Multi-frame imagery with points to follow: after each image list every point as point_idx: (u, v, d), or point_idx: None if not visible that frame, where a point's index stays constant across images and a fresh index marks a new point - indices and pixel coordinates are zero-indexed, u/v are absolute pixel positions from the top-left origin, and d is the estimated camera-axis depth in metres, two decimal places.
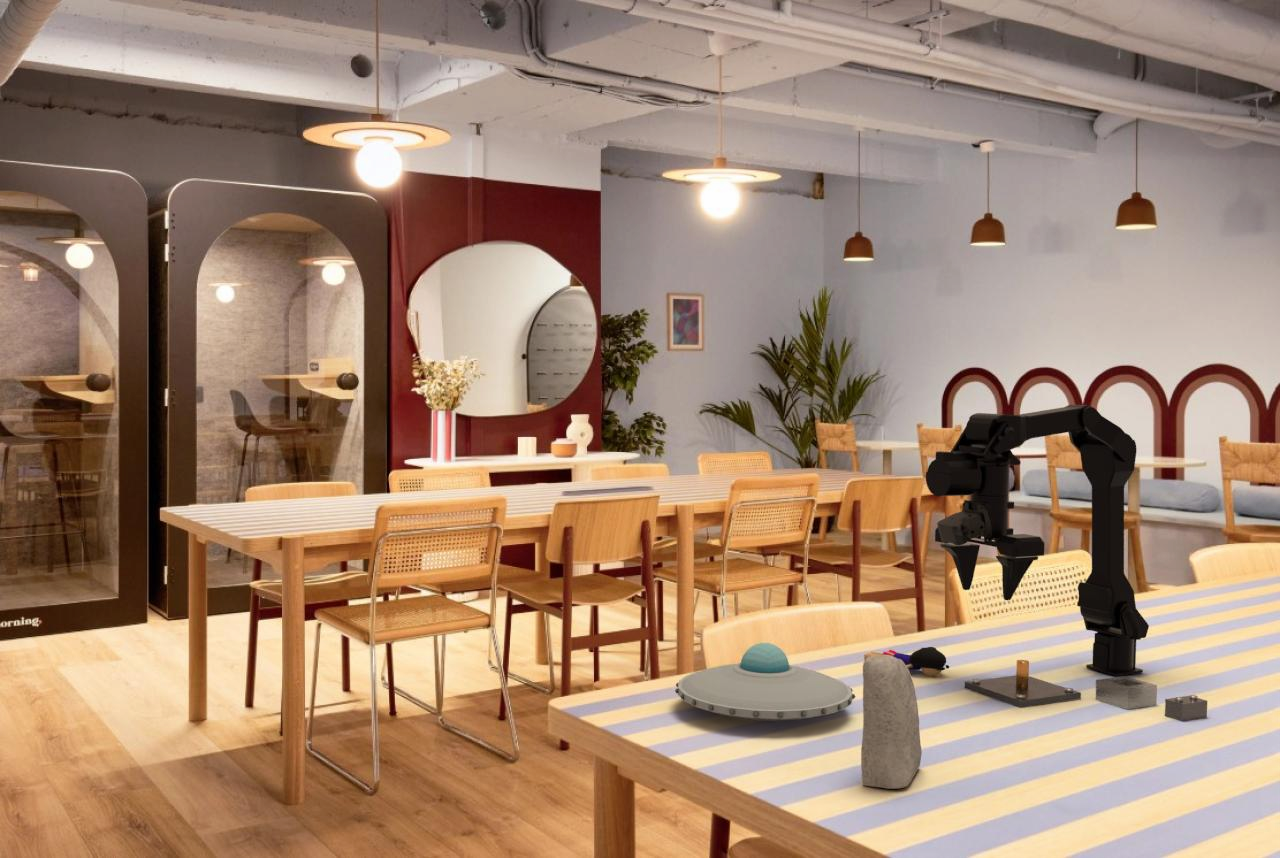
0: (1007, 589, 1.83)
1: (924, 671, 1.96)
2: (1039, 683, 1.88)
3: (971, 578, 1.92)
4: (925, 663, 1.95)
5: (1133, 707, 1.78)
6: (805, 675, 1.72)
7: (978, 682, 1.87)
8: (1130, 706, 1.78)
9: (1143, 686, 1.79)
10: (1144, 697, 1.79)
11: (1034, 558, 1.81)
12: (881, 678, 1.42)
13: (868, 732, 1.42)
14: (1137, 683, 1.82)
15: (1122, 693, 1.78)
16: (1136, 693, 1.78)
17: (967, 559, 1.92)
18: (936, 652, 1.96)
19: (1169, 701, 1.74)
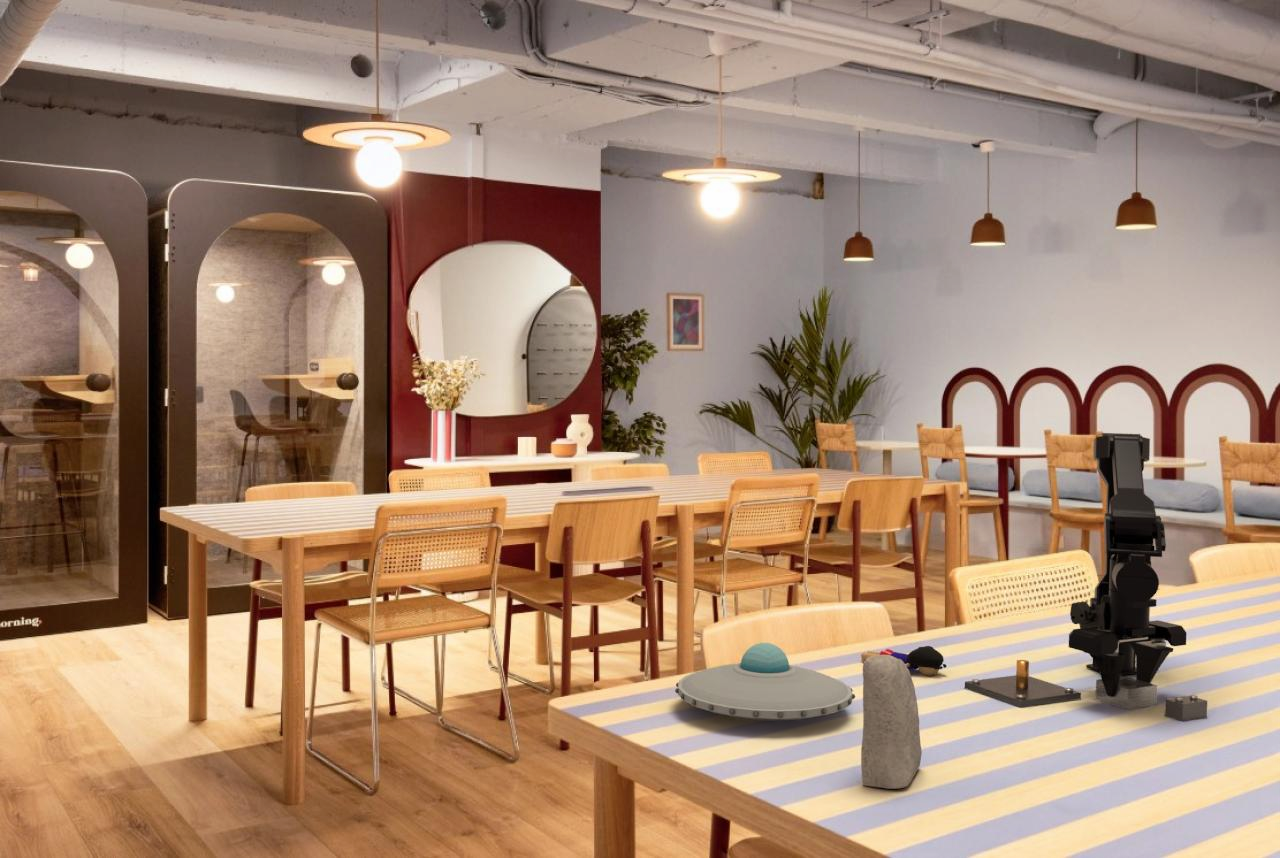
0: (1104, 684, 1.80)
1: (921, 670, 1.96)
2: (1039, 683, 1.88)
3: (1145, 681, 1.82)
4: (923, 662, 1.95)
5: (1133, 707, 1.78)
6: (805, 675, 1.72)
7: (978, 682, 1.87)
8: (1130, 706, 1.78)
9: (1143, 686, 1.79)
10: (1144, 697, 1.79)
11: (1104, 655, 1.77)
12: (881, 678, 1.42)
13: (868, 732, 1.42)
14: (1137, 683, 1.82)
15: (1122, 693, 1.78)
16: (1136, 693, 1.78)
17: (1144, 660, 1.83)
18: (933, 651, 1.96)
19: (1169, 701, 1.74)
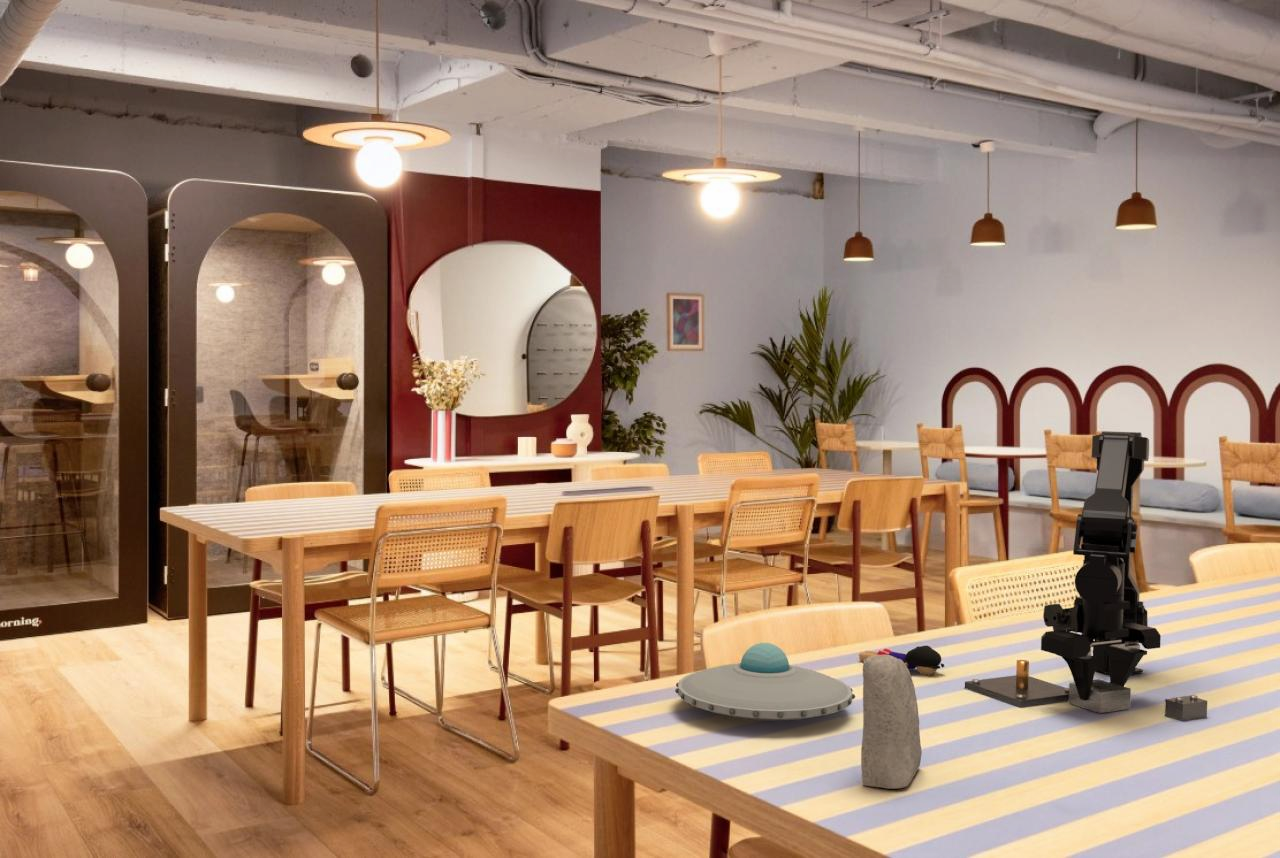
0: (1077, 687, 1.78)
1: (919, 670, 1.97)
2: (1039, 683, 1.88)
3: (1119, 684, 1.80)
4: (920, 662, 1.95)
5: (1106, 711, 1.76)
6: (805, 675, 1.72)
7: (978, 682, 1.87)
8: (1103, 710, 1.75)
9: (1116, 689, 1.77)
10: (1118, 701, 1.77)
11: (1077, 658, 1.74)
12: (881, 678, 1.42)
13: (868, 732, 1.42)
14: (1111, 686, 1.79)
15: (1095, 696, 1.76)
16: (1109, 696, 1.76)
17: (1118, 663, 1.80)
18: (931, 651, 1.97)
19: (1169, 701, 1.74)
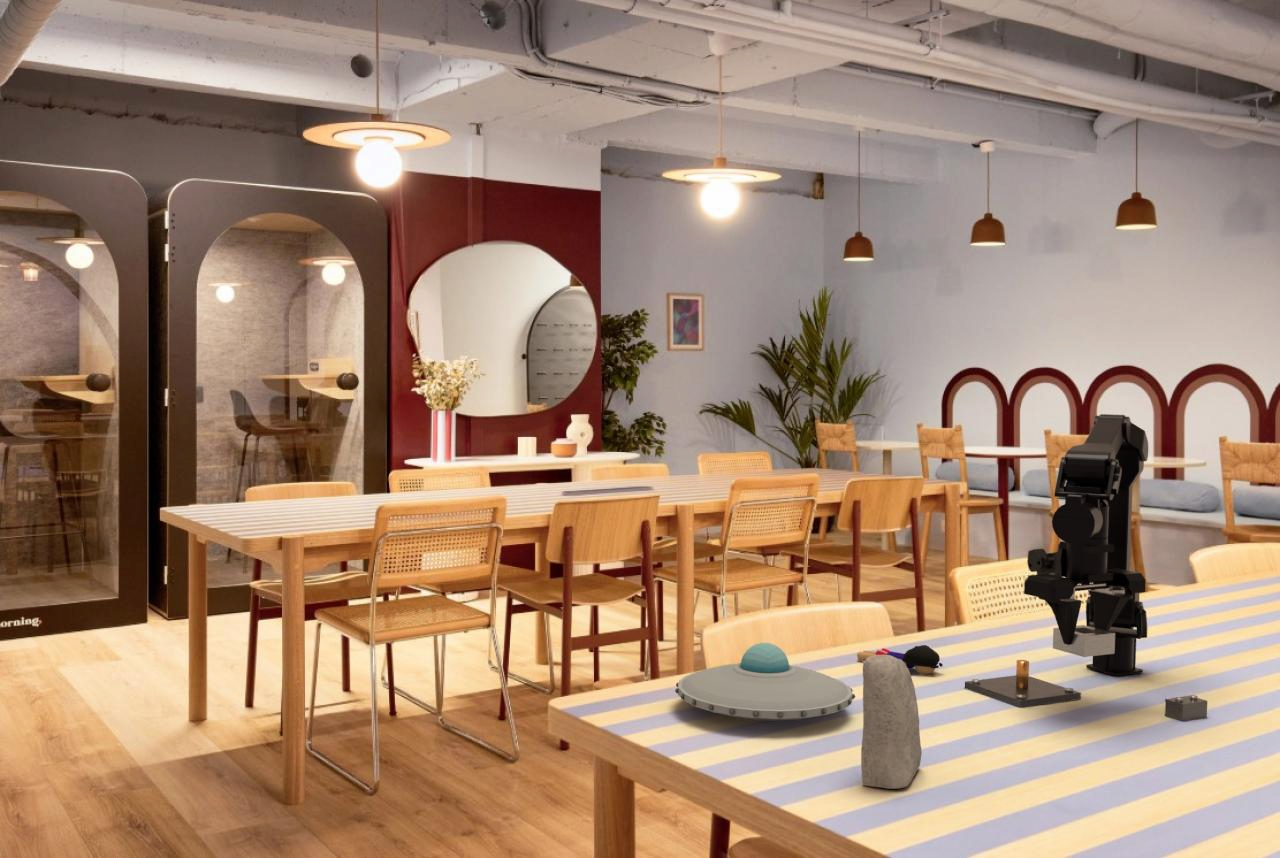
0: (1060, 631, 1.76)
1: (918, 669, 1.97)
2: (1039, 683, 1.88)
3: (1103, 629, 1.78)
4: (919, 661, 1.96)
5: (1090, 655, 1.74)
6: (805, 675, 1.72)
7: (978, 682, 1.87)
8: (1087, 654, 1.74)
9: (1100, 633, 1.75)
10: (1102, 645, 1.75)
11: (1060, 601, 1.72)
12: (881, 678, 1.42)
13: (868, 732, 1.42)
14: (1095, 631, 1.77)
15: (1079, 640, 1.74)
16: (1093, 640, 1.74)
17: (1103, 608, 1.78)
18: (929, 650, 1.97)
19: (1169, 701, 1.74)
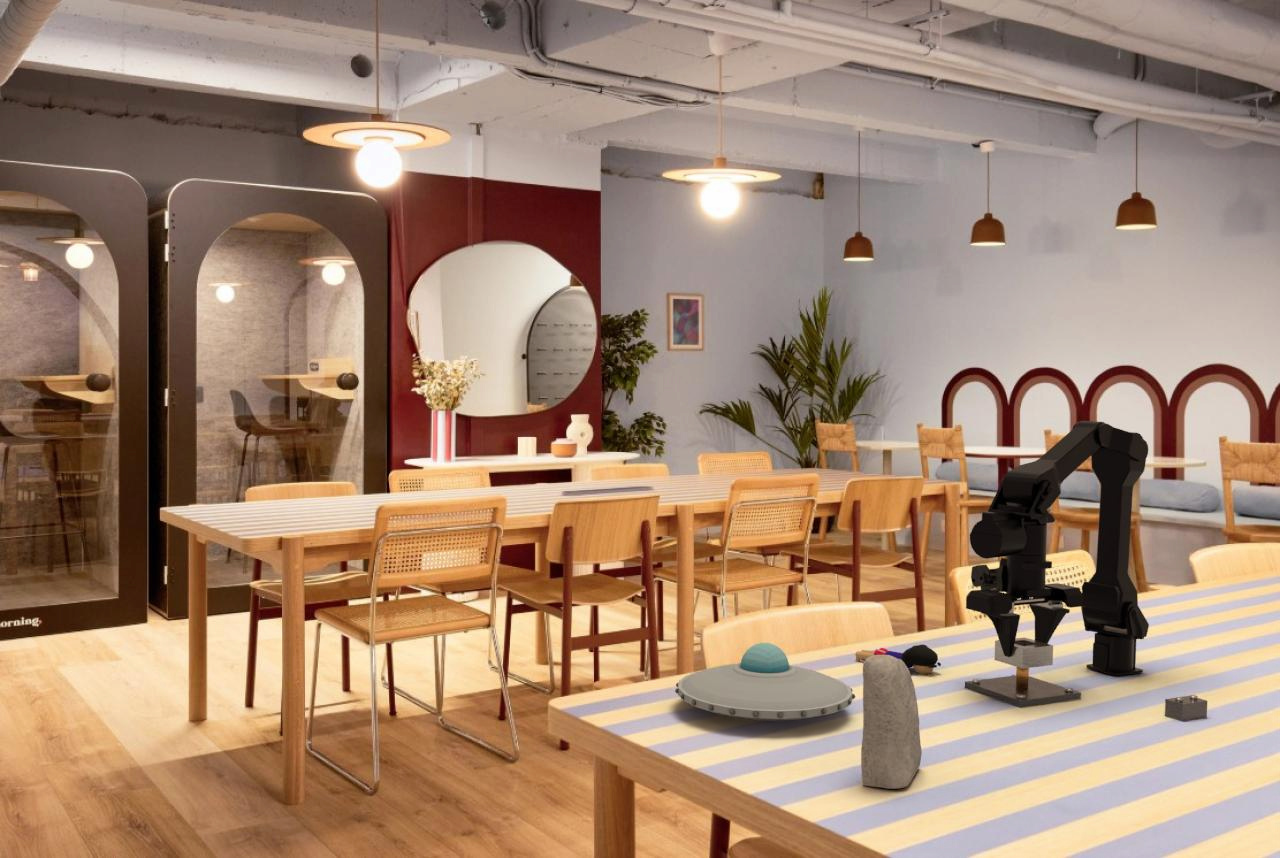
0: (1001, 644, 1.84)
1: (916, 669, 1.97)
2: (1039, 683, 1.88)
3: None
4: (917, 661, 1.96)
5: (1028, 666, 1.82)
6: (805, 675, 1.72)
7: (978, 682, 1.87)
8: (1025, 665, 1.82)
9: (1039, 646, 1.83)
10: (1040, 657, 1.83)
11: (999, 616, 1.81)
12: (881, 678, 1.42)
13: (868, 732, 1.42)
14: (1034, 644, 1.86)
15: (1018, 653, 1.82)
16: (1031, 653, 1.82)
17: (1042, 622, 1.87)
18: (927, 650, 1.97)
19: (1169, 701, 1.74)
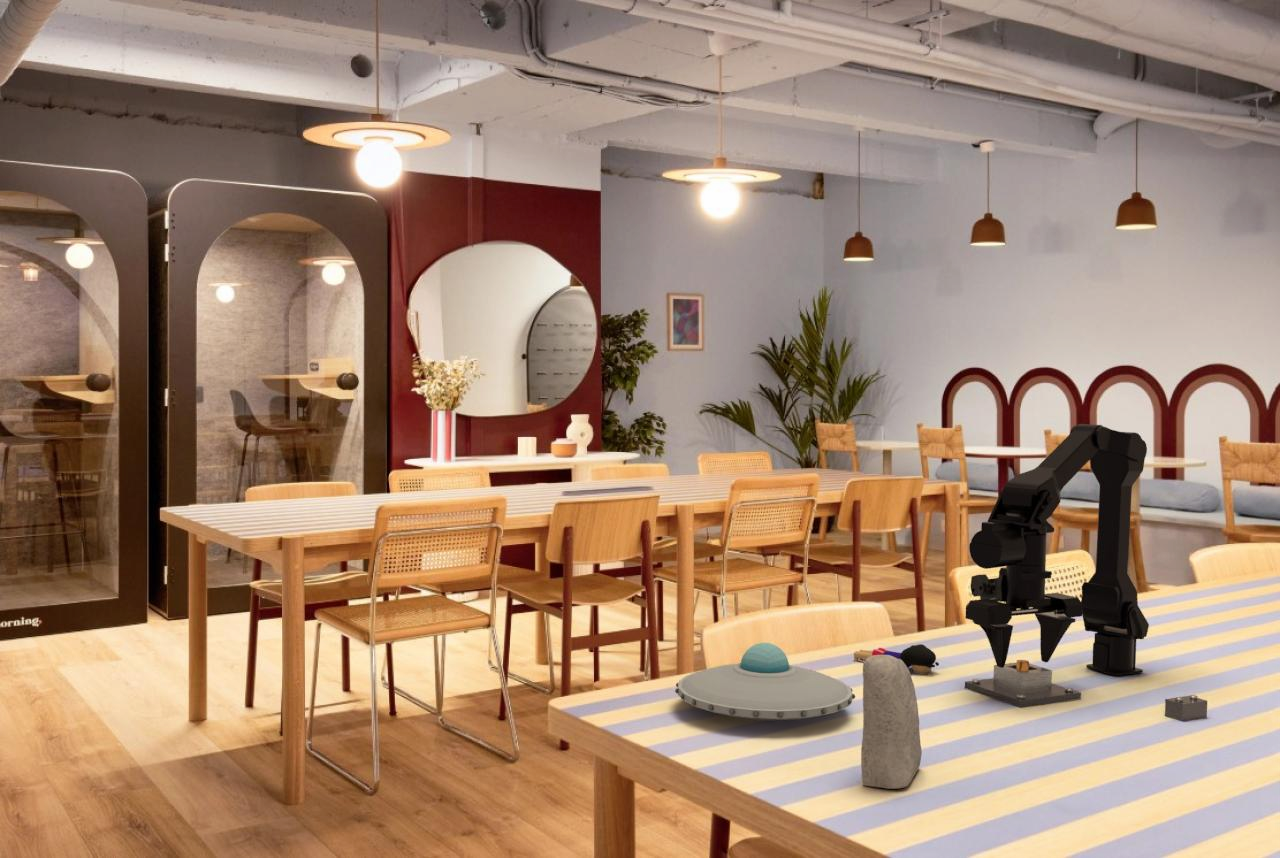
0: (994, 655, 1.84)
1: (914, 668, 1.97)
2: None
3: (1048, 651, 1.87)
4: (915, 660, 1.96)
5: (1027, 691, 1.82)
6: (805, 675, 1.72)
7: (978, 682, 1.87)
8: (1024, 690, 1.82)
9: (1038, 671, 1.83)
10: (1039, 682, 1.83)
11: (992, 626, 1.80)
12: (881, 678, 1.42)
13: (868, 732, 1.42)
14: (1033, 668, 1.86)
15: (1017, 678, 1.83)
16: (1030, 678, 1.82)
17: (1048, 631, 1.87)
18: (926, 650, 1.97)
19: (1169, 701, 1.74)
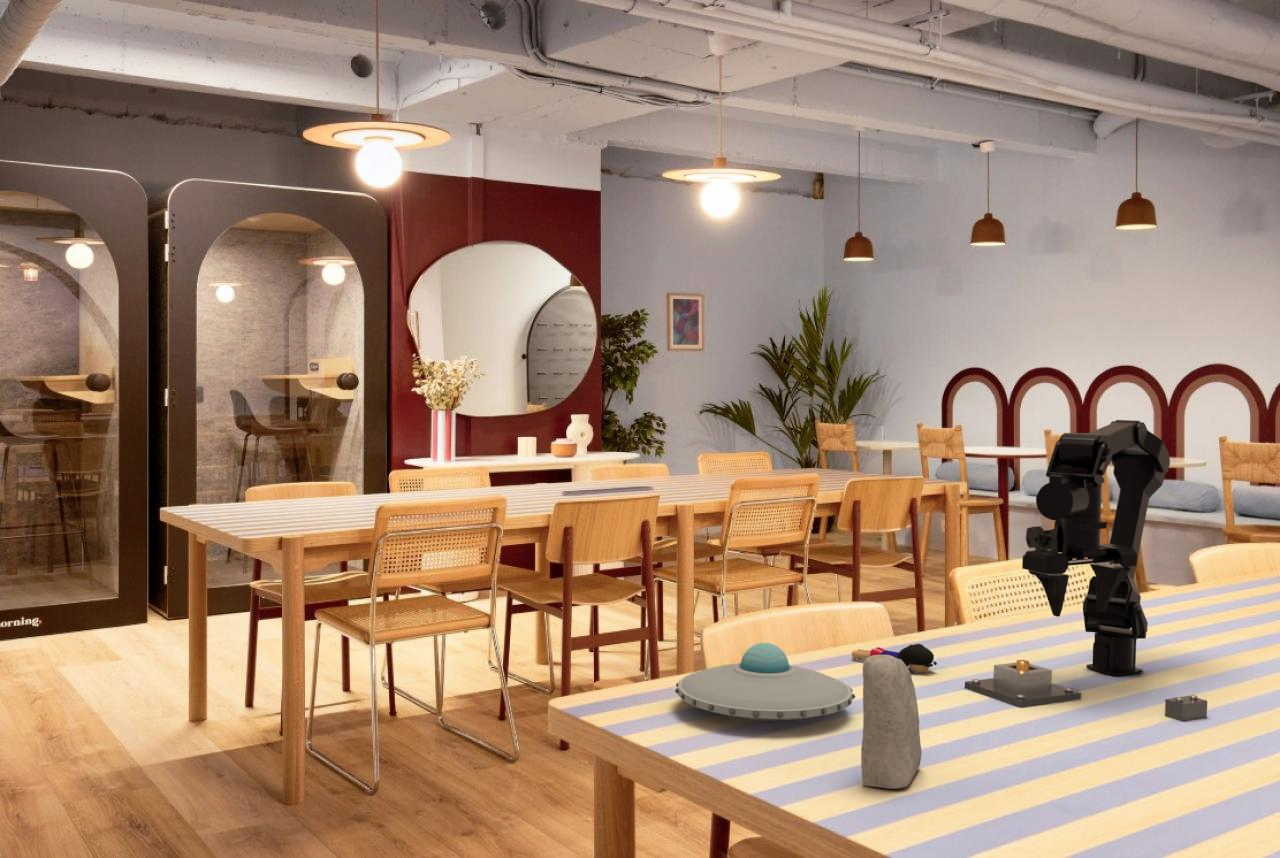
0: (1050, 604, 1.87)
1: (912, 668, 1.98)
2: None
3: (1104, 600, 1.90)
4: (913, 660, 1.96)
5: (1027, 691, 1.82)
6: (805, 675, 1.72)
7: (978, 682, 1.87)
8: (1024, 690, 1.82)
9: (1038, 671, 1.83)
10: (1039, 682, 1.83)
11: (1049, 576, 1.84)
12: (881, 678, 1.42)
13: (868, 732, 1.42)
14: (1033, 668, 1.86)
15: (1017, 678, 1.83)
16: (1030, 678, 1.82)
17: (1103, 581, 1.91)
18: (923, 649, 1.98)
19: (1169, 701, 1.74)
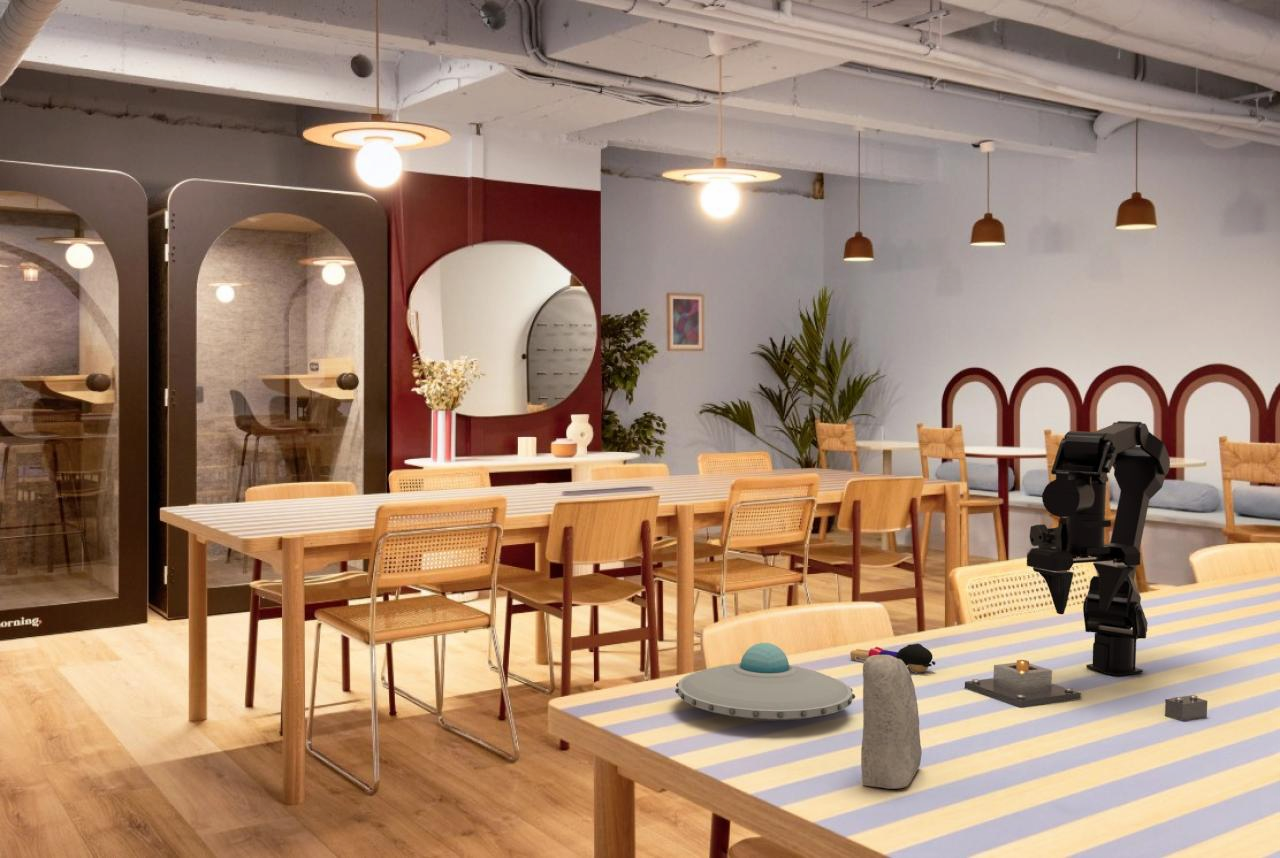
0: (1054, 602, 1.87)
1: (911, 667, 1.98)
2: None
3: (1107, 599, 1.90)
4: (912, 660, 1.97)
5: (1027, 691, 1.82)
6: (805, 675, 1.72)
7: (978, 682, 1.87)
8: (1024, 690, 1.82)
9: (1038, 671, 1.83)
10: (1039, 682, 1.83)
11: (1053, 573, 1.84)
12: (881, 678, 1.42)
13: (868, 732, 1.42)
14: (1033, 668, 1.86)
15: (1017, 678, 1.83)
16: (1030, 678, 1.82)
17: (1107, 579, 1.91)
18: (922, 649, 1.98)
19: (1169, 701, 1.74)
